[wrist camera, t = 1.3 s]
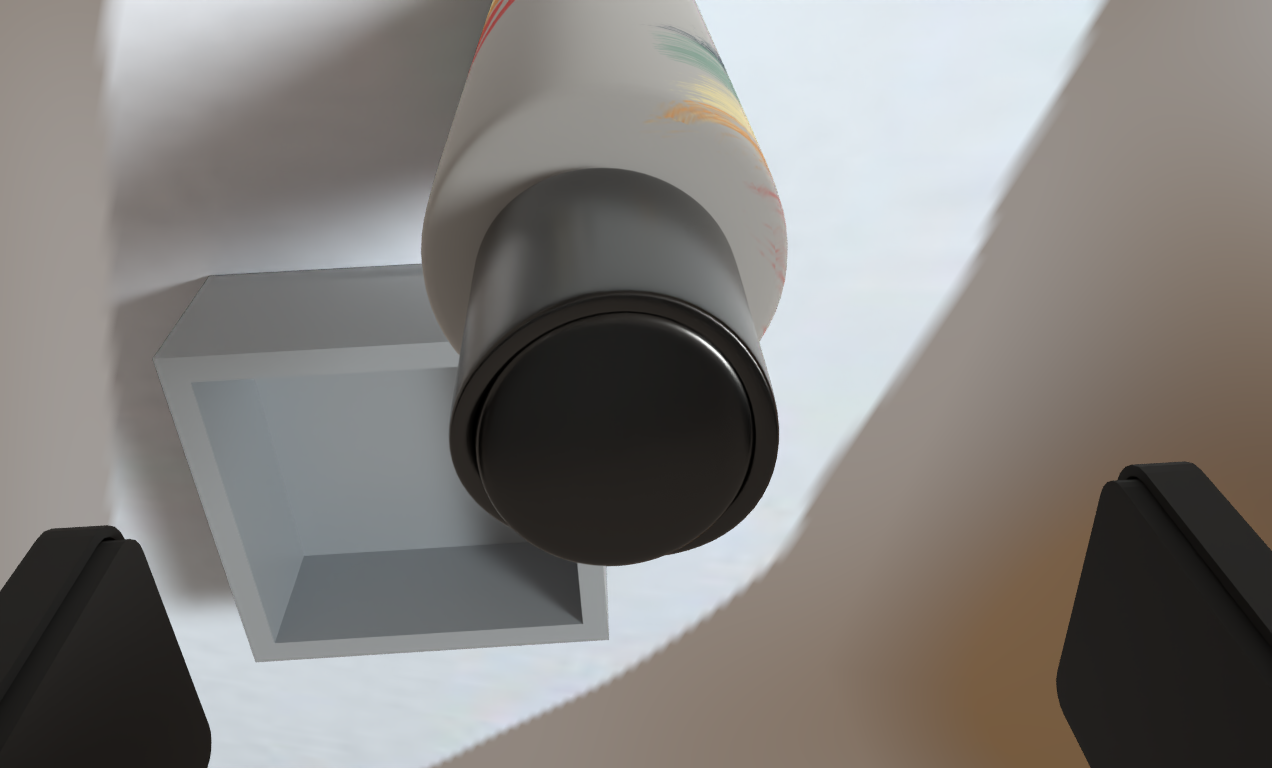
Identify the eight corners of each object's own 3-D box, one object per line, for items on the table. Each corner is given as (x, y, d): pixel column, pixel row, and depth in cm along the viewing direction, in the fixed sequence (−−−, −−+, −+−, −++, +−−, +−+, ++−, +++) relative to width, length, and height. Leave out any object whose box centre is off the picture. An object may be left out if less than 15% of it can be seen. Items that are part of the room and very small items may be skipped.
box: (209, 275, 32) (152, 358, 27) (584, 254, 32) (585, 333, 28) (291, 559, 38) (255, 662, 34) (605, 539, 38) (609, 640, 34)
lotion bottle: (462, 86, 29) (298, 576, 12) (533, -118, 26) (451, 143, 9) (646, 161, 30) (730, 692, 13) (731, -26, 28) (970, 345, 11)
